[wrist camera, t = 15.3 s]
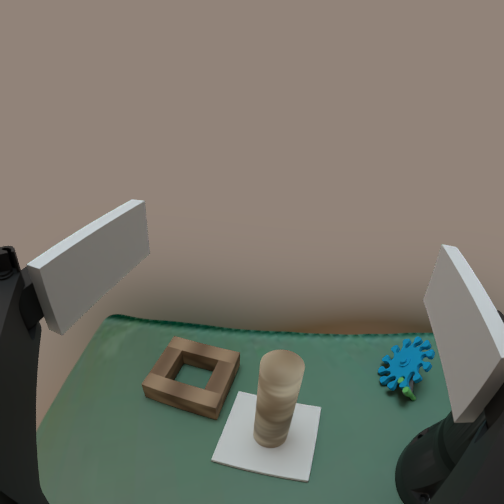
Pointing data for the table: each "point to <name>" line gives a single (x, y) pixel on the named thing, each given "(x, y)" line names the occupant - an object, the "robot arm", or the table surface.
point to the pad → (261, 458)
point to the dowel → (277, 396)
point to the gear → (406, 366)
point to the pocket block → (187, 396)
